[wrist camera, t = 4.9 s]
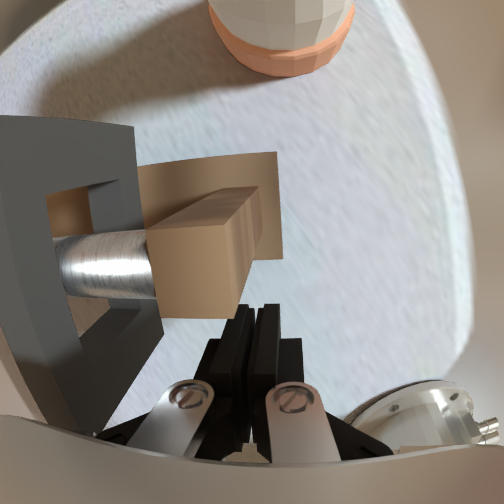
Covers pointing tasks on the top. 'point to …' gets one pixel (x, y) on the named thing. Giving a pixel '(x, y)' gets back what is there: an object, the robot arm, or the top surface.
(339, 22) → the salt shaker
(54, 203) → the stand
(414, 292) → the top surface
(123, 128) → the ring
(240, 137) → the top surface
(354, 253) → the top surface
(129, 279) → the rod
